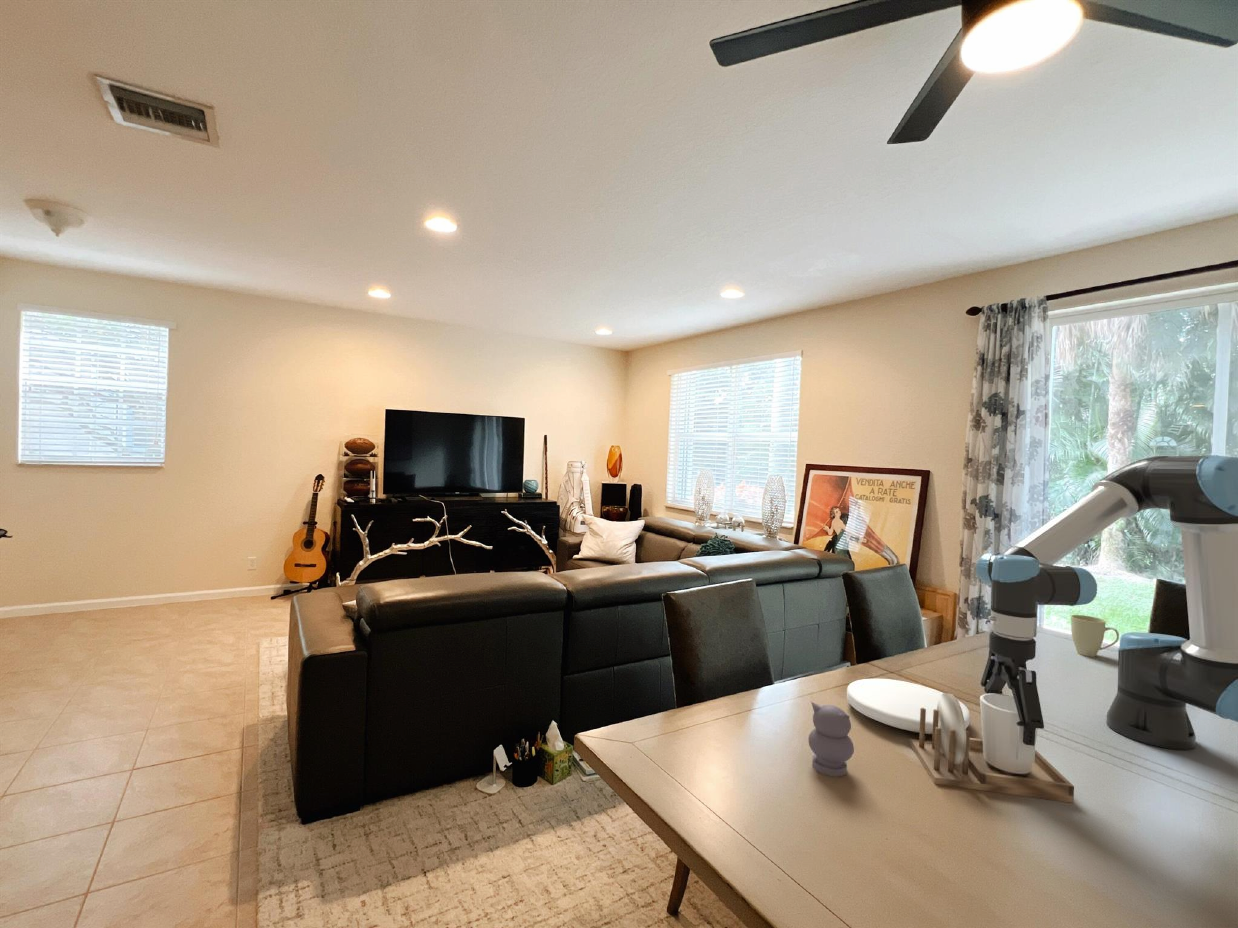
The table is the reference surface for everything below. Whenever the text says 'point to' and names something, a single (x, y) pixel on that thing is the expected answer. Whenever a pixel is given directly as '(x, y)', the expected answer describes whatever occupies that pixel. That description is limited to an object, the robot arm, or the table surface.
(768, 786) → the table surface
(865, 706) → the plate
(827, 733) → the cat figurine
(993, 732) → the cup
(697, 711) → the table surface
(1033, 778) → the rack
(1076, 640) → the mug
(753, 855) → the table surface
